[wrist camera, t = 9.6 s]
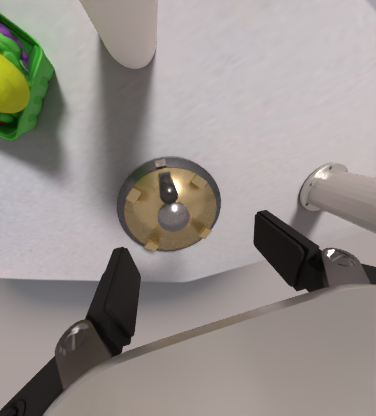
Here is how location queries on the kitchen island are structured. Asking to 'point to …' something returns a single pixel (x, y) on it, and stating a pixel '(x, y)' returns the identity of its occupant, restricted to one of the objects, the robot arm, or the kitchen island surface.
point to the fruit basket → (20, 80)
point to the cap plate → (158, 164)
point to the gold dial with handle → (170, 208)
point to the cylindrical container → (126, 28)
